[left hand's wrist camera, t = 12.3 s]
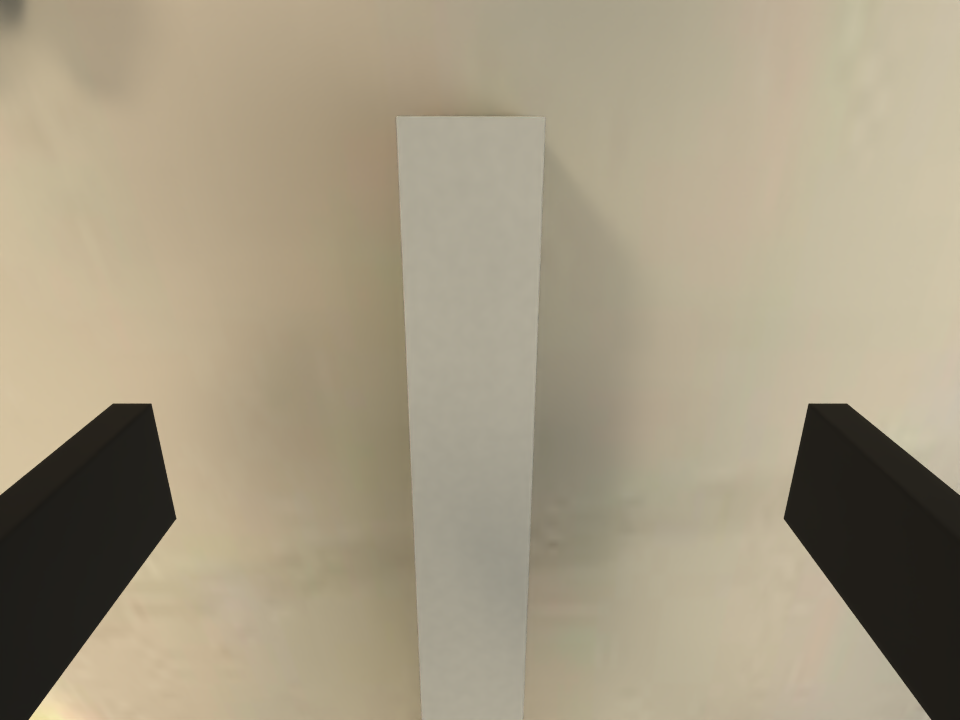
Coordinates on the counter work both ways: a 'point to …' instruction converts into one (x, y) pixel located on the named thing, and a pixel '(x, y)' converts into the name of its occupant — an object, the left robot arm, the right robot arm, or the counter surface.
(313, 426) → the counter surface
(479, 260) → the beam
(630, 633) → the counter surface
